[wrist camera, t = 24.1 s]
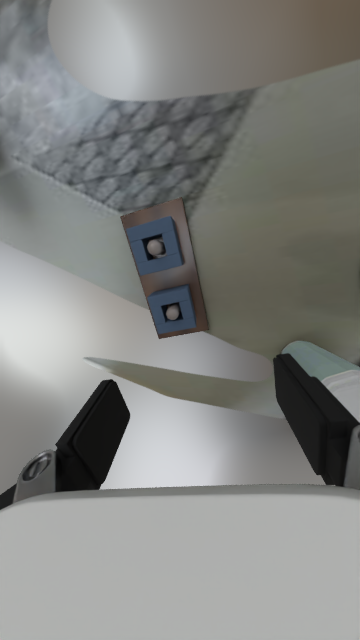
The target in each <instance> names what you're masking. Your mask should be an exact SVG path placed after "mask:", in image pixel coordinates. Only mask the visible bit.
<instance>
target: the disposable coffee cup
mask: <svg viewBox="0 0 360 640" xmlns="http://www.w3.org/2000/svg"><path fill="white" fill-rule="evenodd" d="M285 353H289V354H291V356H292V357H293V358H294V359H295V360H296V361H297V362H298V363H299V365H300V366H301V367H302V368H303V369H304V370H305V371H306V372H307V373H308V375H309V376H310V377H312V376H315V377H317V378H318V379H319V380H320V381H321V382H322V383H323V384H324V385H325V386H326V388H327V389H328V390H329V391H330V392H331V393H332V394H333V395H334V396H335V397H336V398H337V399H338V400H339V401H340V402H341V404H342V405H343V406H344V407H345V408H346V409H347V410H348V411H349V412H350V413H351V414H352V415H353V416H354V417H355V418H356V419H357V421H358V422H359V423H360V367H358V366H356V365H354V364H352V363H350V362H348V361H346V360H344V359H342V358H340V357H338V356H336V355H334V354H332V353H330V352H328V351H326V350H324V349H322V348H320V347H318V346H316V345H314V344H312V343H310V342H306V341H295V342H292V343H290V344H288V345H287V346H286V347H285V348H284V349H283V350H282V354H285Z"/></svg>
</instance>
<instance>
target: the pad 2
mask: <svg viewBox="0 0 360 640" xmlns="http://www.w3.org/2000/svg"><path fill="white" fill-rule="evenodd" d="M147 299H148V302H149V306H150V309H151V312H152V315H153V318H154V322H155V325H156V328H157V331H158V334H162V333H168V332H173V331H179V330H184V329H189V328H195V327H196V315H195V310H194V306H193V301H192V297H191V292H190V288H189V284H186V285H182V286H177V287H173V288H168V289H164V290H160V291H155V292H152V293H151V294H150V295H149V296H148V297H147ZM176 302H179V304H180V308H181V313H179V316H178V317H177V319H175V320H170V319H168V317H167V316H166V312H167V310H168V309H167V304H172V303H176Z"/></svg>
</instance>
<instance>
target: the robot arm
mask: <svg viewBox="0 0 360 640" xmlns="http://www.w3.org/2000/svg"><path fill="white" fill-rule="evenodd" d="M273 361H274V375H275V388H276V398H277V402H278V404H279V406H280V408H281V410H282V411H283V413H284V415H285V417H286V419H287V421H288V423H289V425H290V427H291V429H292V430H293V432H294V434H295V436H296V438H297V440H298V442H299V444H300V445H301V447H302V449H303V451H304V453H305V455H306V457H307V459H308V461H309V463H310V464H311V466H312V468H313V470H314V472H315V473H316V474H317V475H321V476H322V478H323V480H324V482H325V483H326V485H313V484H312V485H310V484H267V485H266V484H259V485H223V486H191V487H160V488H133V489H132V488H131V489H106V490H99V489H100V486H101V484H102V483H103V482H104V481H105V479H106V477H107V474H108V472H109V469H110V467H111V464H112V462H113V459H114V457H115V454H116V452H117V449H118V447H119V444H120V442H121V439H122V437H123V434H124V432H125V429H126V427H127V424H128V422H129V419H130V412H129V410H128V408H127V406H126V403H125V401H124V399H123V397H122V394H121V392H120V390H119V388H118V385H117V383H116V382H114V381H113V380H112V379H110V380H103V381H102V382H101V383H100V384H99V386H98V387H97V388H96V390H95V391H94V392H93V394H92V395H91V397H90V398H89V399H88V401H87V402H86V403H85V405H84V406H83V408H82V409H81V410H80V412H79V413H78V414H77V416H76V417H75V418H74V420H73V421H72V423H71V424H70V425H69V427H68V428H67V429H66V431H65V432H64V433H63V435H62V436H61V438H60V439H59V440H58V442H57V443H56V444H55V445H56V446H57V450H56V451H53V450H46V451H44V452H42V453H40V454H38V455H37V456H35V457H34V458H33V459H32V460H31V461H29V462H28V463H27V465H26V466H25V467H24V468H23V470H22V471H21V473H20V475H19V477H18V480H17V483H16V484H15V485H14V486H12V487H11V488H10V489H8V490H7V491H5V492H4V493H2V494H1V495H0V640H360V423H359V422H358V421H357V419H356V418H355V417H354V416H353V415H352V414H351V413H350V412H349V411H348V410H347V409H346V408H345V407H344V406H343V405H342V404H341V402H340V401H339V400H338V399H337V398H336V397H335V396H334V395H333V394H332V393H331V392H330V391H329V390H328V389H327V388H326V386H325V385H324V384H323V383H322V382H321V381H320V380H319V379H318V378H317V377H315V376H312V377H310V376H309V375H308V373H307V372H306V371H305V370H304V369H303V368H302V367H301V366H300V365H299V363H298V362H297V361H296V360H295V359H294V358H293V357H292V356H291V354H289V353H285V354H278V355H277V358H274V359H273ZM331 485H336V486H331Z"/></svg>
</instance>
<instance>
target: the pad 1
mask: <svg viewBox="0 0 360 640" xmlns="http://www.w3.org/2000/svg"><path fill="white" fill-rule="evenodd" d="M126 232H127V235H128V238H129V241H130V245H131V248H132V251H133V254H134V257H135V261H136V264H137V267H138V270H139V273H140V276H142V275H146V274H150V273H154V272H158V271H162V270H166V269H170V268H174V267H178V266H182V265H183V264H184V261H183V257H182V253H181V248H180V243H179V239H178V235H177V230H176V226H175V221H174V219H173V218H172V217H171V216H168V217H164V218H161V219H158V220H154V221H151V222H148V223H144V224H141V225H138V226H134V227H131V228H128V229H126ZM160 237H163V241H164V245H165V249H166V253H167V256H165V257H161V258H157V259H153V255H152V254H150V253H149V251H148V249H147V246H148V243H149V240H153V239H156V238H160Z"/></svg>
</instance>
